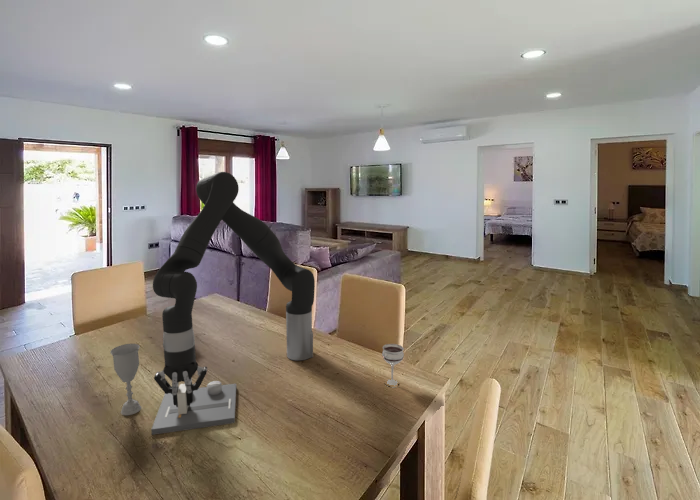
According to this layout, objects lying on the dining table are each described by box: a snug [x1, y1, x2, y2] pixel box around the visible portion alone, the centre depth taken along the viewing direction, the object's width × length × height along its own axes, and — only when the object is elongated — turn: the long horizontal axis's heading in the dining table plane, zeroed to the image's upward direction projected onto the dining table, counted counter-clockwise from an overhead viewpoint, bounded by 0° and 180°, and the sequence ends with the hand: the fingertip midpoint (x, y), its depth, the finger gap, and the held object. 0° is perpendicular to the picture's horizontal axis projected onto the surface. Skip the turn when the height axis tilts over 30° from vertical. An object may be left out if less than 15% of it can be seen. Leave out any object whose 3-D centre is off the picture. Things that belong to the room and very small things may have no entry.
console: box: [150, 380, 237, 436], centre depth 106 cm, size 20×18×4 cm
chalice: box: [110, 343, 142, 416], centre depth 104 cm, size 7×7×18 cm
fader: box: [177, 383, 188, 415], centre depth 103 cm, size 2×5×6 cm, turn 15°
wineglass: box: [381, 343, 404, 386], centre depth 121 cm, size 7×7×12 cm
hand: (183, 404), depth 103 cm, fingers closed on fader, 2 cm apart
